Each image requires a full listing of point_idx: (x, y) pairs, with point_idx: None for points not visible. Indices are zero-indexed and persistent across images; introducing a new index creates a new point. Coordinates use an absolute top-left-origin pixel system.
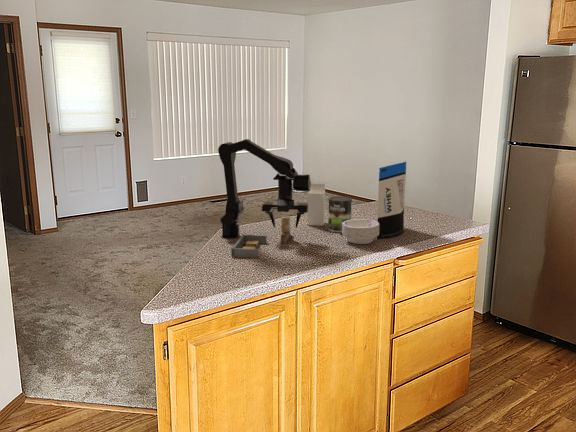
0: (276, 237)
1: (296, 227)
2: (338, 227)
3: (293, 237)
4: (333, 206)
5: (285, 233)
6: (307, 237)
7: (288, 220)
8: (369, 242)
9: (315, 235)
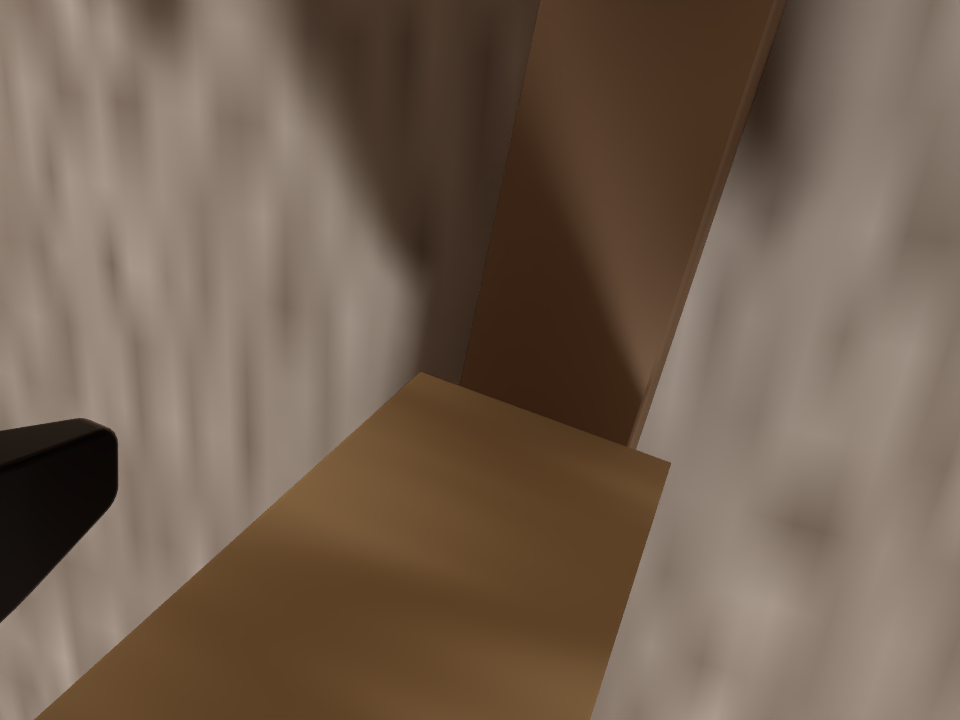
0: (802, 610)
1: (78, 419)
2: None
3: None
4: None
5: (546, 254)
6: (123, 404)
7: (92, 688)
8: None
9: None
